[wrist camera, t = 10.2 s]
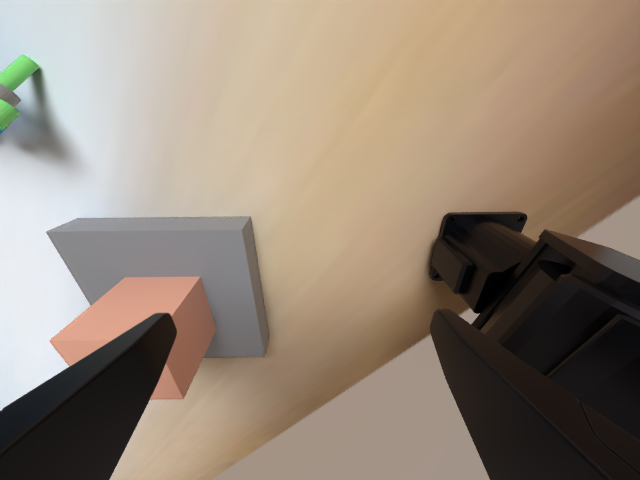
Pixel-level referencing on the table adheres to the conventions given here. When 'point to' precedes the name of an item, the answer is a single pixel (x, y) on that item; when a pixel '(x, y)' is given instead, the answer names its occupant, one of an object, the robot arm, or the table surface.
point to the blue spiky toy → (13, 88)
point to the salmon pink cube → (137, 305)
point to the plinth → (176, 267)
